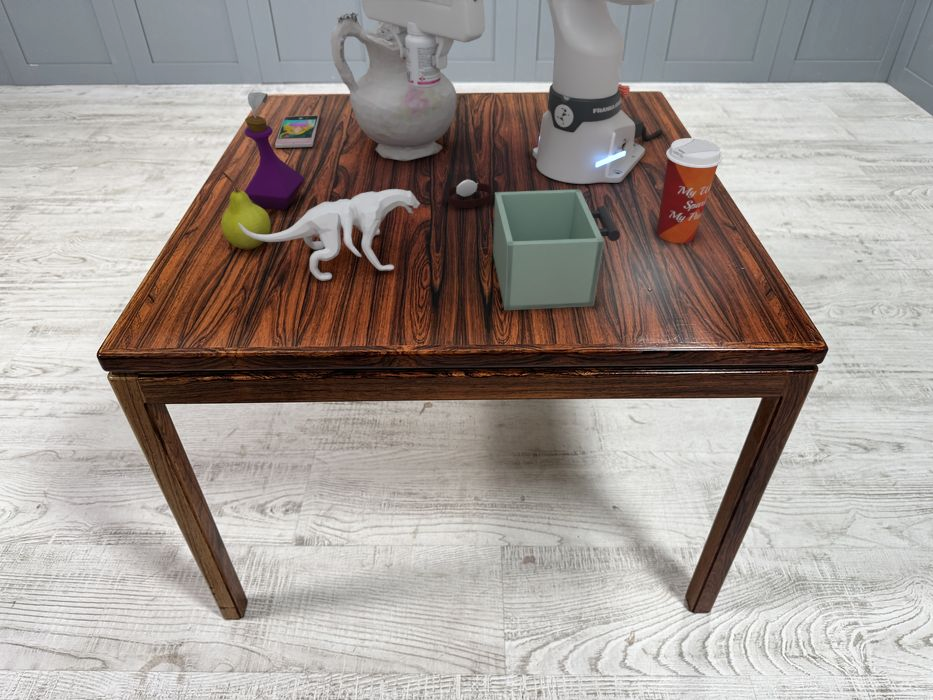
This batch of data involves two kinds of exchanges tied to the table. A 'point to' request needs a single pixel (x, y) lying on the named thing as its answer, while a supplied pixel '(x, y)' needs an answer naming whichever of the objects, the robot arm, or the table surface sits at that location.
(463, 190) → the watch
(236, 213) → the fruit
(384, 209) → the white toy dinosaur
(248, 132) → the perfume bottle
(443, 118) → the ceramic pitcher
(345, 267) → the table surface
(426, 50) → the pill bottle
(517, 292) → the basket
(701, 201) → the paper cup
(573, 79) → the robot arm
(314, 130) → the smartphone
